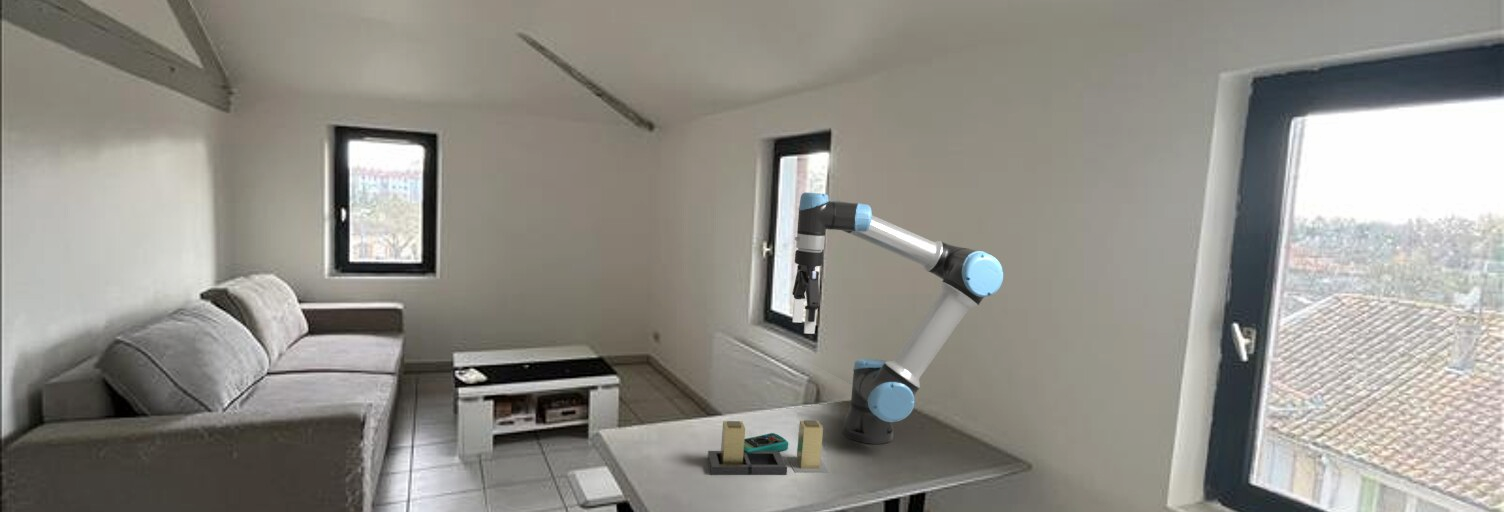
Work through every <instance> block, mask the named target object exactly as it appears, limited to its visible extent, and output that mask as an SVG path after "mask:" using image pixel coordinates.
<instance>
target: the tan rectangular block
mask: <svg viewBox="0 0 1504 512" xmlns="http://www.w3.org/2000/svg"><path fill="white" fill-rule="evenodd" d="M798 425H799V426H798V438H797V448H796V449H797V450H796V457H797V459H796V461H797V463H798V464H799V466H800V468H801V469H819V468H820V459H821V455H822V444H823V432H824V427H823V425H822V424H821V423H820V422H819V420H811V419H810V420H807V419H806V420H799V424H798Z"/></svg>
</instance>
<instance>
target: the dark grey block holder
mask: <svg viewBox="0 0 1504 512" xmlns="http://www.w3.org/2000/svg"><path fill="white" fill-rule="evenodd" d="M780 452H781V451H780ZM780 452H779V451H753V452H746V451H744V452H743V465H721V464H720V457H721V450H707V462H708V466H709V470H710V475H711V476H787V475H788V474H787V473H788V466H787V464H786V462H785V460H784V458H783V456H782V454H781V453H780Z"/></svg>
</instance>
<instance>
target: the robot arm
mask: <svg viewBox="0 0 1504 512" xmlns="http://www.w3.org/2000/svg"><path fill="white" fill-rule="evenodd" d="M797 217H798V219H797V228H796V229H797V230H796V232H797V233H796V236H795V237H794V240H795V241H796V242H795V243H796V244H795V247H796V248H797V249H796V250H795V253H794V263H795V264H796V265H797V270H796V275H795V280H794V285H793V289H792V295H793V309H792V310H793V311H792V321H791V322H792V323H798V324H799V323H801V324H802V323H803V317H804V316H805V317H804V325H803V326H804V328H803V334H809V335H810V334H811V335H812V334H813V335H814V334H815V331H816V323H817V322H816V319H817V310H818V309H820V307H821V305H820V287H819V285H820V284H819V283H820V280H819V279H820V277H819V276H820V272H819V271H817V270H816V267H820V266H822V265H823V263H824V262H823V261H824V253H823V251H824V250H825V242H826V241H825V240H826V230H832V231H833V230H836V231H842V232H845V233H847V234H849V235H853V236H855V237H857V238H858V239H861V240H864V241H866V242H868V243H870V244H873V245H875V246H877V247H879V248H882V249H884V250H887V251H888V252H891V253H894V254H896V255H898V256H900V257H903V258H905V259H907V260H909V261H912V262H914V263H915V264H919V265H920V266H923V269H924V270H925V271H926V272H929V273H931V274H933V275H935V276H936V277H938V278H940V279H942V281H941V289H942V290H941V292H940V294H939V295H938V296H937V298H936V299H935V301H934V302H933V304H932V305H931V306H930V307H929V309H928V311H927V312H926V313H925V314H924V316H923V318H922V319H921V320H920V322H919V323H918V325H917V326H916V327H915V328H914V331H912V333H911V335H910V336H908V339H907V340H906V341H905V343H904V344H903V346H902V347H901V348H900V350H899V352H898V353H897V355H896V356H895V357H894V358H893V359H892V360H886V359H876V358H860V359H856V360H855V362H854V368H853V370H852V371H853V377H852V387H851V396H850V397H851V399H850V405H849V406H850V407H849V409H848V411H847V414H846V417H845V418H844V420H843V423H842V429H841V430H842V434H843V435H844V436H845V437H847V438H848V439H850V440H853V441H856V442H860V443H865V444H872V445H873V444H874V445H876V444H877V445H879V444H882V445H883V444H886V443H890V442H892V441H893V439H894V427H893V423H895V422H900V421H902V420H904V419H906V418H907V417H908V416H909V415H910V414H911V413H912V412H913V410H914V407H915V395H916V394H917V392H918V391H919V390H920V388H921V383H920V378H921V376H922V375H923V374H924V372H925V371H926V370H927V368H928V367H929V365H930V364H931V363H932V361H933V360H934V359H935V357H936V356H937V354H938V353H939V351H940V350H941V348H942V347H943V346H944V344H946V341H947V340H948V339H949V337H950V336H951V335H952V333H953V331H954V330H956V328H957V326H958V325H959V323H960V322H961V320H962V319H963V318H964V316H965V315H966V314H967V312H968V310H970V309H973V308H977V307H979V305H980V303H982V301H983V300H984V298H986V297H989V296H992V295H994V294H996V292H997V291H999V290H1000V288H1001V286H1002V284H1003V280H1004V272H1003V266H1002V264H1001V263H1000V261H999V260H998V259H997V258H996V257H995V256H993V255H991V254H989V253H988V252H986V251H981V250H975V249H970V248H967V247H961V246H956V245H952V244H948V243H945V242H943V241H941V240H936V241H932V240H930V239H927V238H926V237H923V236H921V235H919V234H916V233H914V232H911V231H909V230H907V229H905V228H903V227H900V226H898V225H895V224H894V223H891V222H889V221H887V220H884V219H882V218H879V217H877V216H875V215H873V213H872V208H871V206H870V205H869V204H864V203H857V202H845V201H840V200H832V201H830V200H829V195H828V194H826V193H816V192H803V193H802V194H800V199H799V204H798V215H797ZM805 299H806V305H805V304H804V303H805ZM804 305H805V306H804ZM804 309H805V313H804ZM804 314H805V315H804Z"/></svg>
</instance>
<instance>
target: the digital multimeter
mask: <svg viewBox="0 0 1504 512" xmlns="http://www.w3.org/2000/svg"><path fill="white" fill-rule="evenodd" d="M788 449H789V441H787V440H786V439H785V438H784V437H782V436H781V435H779V434H777V433H776V432H775V433H774V432H770V433H765V434H762V435H761V434H760V435H756V436H752V437H747V438H746V437H745V439H744V451H746V452H753V451H779V452H783V451H787V450H788Z"/></svg>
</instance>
